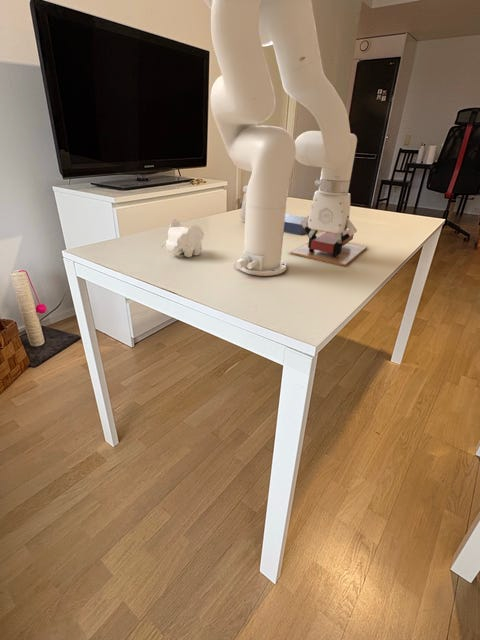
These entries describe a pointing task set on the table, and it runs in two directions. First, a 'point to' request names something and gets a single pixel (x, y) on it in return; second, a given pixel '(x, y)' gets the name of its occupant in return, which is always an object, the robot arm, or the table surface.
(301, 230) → the navy book
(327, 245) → the red rectangular block
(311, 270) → the table surface
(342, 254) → the wooden board
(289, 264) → the table surface
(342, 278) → the table surface
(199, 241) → the elephant figurine
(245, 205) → the salt shaker
